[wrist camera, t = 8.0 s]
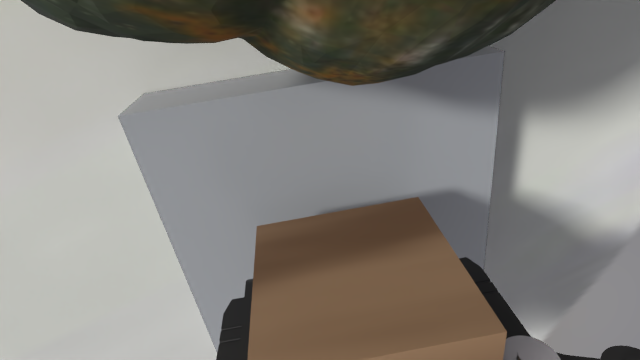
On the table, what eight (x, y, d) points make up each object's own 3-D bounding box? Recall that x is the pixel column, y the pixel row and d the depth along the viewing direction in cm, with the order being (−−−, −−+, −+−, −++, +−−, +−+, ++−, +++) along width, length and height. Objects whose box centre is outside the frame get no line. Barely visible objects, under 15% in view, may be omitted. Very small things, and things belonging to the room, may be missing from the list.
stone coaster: (228, 321, 19) (222, 366, 17) (143, 93, 13) (117, 116, 11) (456, 279, 20) (479, 317, 17) (468, 39, 14) (504, 51, 12)
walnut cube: (256, 225, 11) (245, 382, 7) (418, 196, 11) (507, 331, 7) (287, 335, 14) (293, 502, 9) (420, 310, 14) (487, 463, 10)
